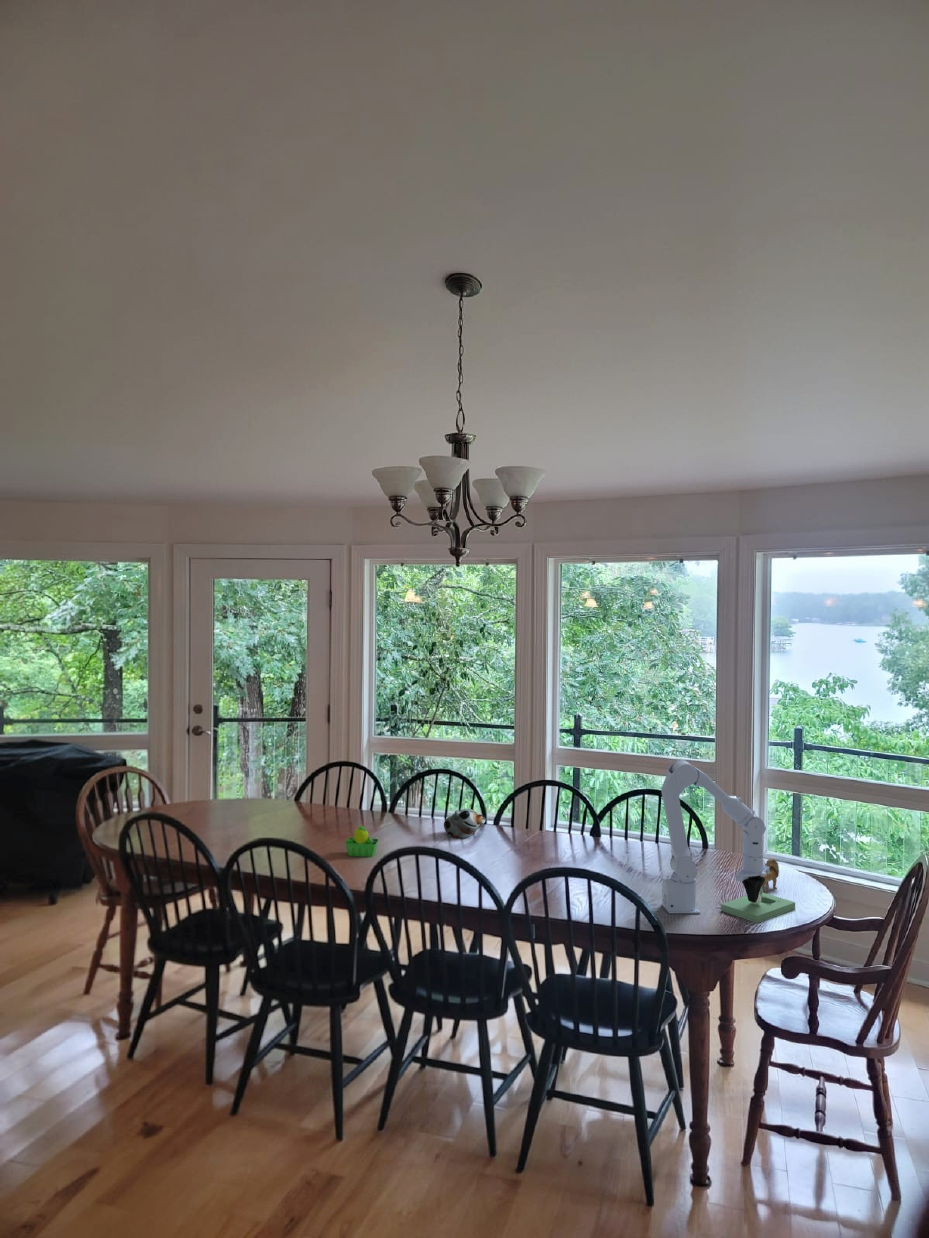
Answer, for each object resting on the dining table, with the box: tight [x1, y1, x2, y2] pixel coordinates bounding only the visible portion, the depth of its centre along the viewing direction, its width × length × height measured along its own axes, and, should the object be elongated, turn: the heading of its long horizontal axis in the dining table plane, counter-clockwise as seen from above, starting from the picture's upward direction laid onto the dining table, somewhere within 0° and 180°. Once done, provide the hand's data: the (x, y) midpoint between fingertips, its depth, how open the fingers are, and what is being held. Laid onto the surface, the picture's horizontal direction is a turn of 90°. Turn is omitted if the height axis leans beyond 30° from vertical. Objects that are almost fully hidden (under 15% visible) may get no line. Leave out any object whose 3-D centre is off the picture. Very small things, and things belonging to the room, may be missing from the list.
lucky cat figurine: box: [443, 808, 487, 839], centre depth 314 cm, size 15×12×14 cm
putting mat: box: [720, 873, 796, 924], centre depth 233 cm, size 22×12×9 cm, turn 127°
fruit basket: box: [344, 825, 379, 858], centre depth 285 cm, size 11×9×11 cm
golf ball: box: [750, 895, 761, 905], centre depth 231 cm, size 4×4×4 cm
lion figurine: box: [762, 858, 780, 894], centre depth 251 cm, size 15×5×9 cm, turn 136°
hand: (752, 901), depth 230 cm, fingers closed, pressing on golf ball
